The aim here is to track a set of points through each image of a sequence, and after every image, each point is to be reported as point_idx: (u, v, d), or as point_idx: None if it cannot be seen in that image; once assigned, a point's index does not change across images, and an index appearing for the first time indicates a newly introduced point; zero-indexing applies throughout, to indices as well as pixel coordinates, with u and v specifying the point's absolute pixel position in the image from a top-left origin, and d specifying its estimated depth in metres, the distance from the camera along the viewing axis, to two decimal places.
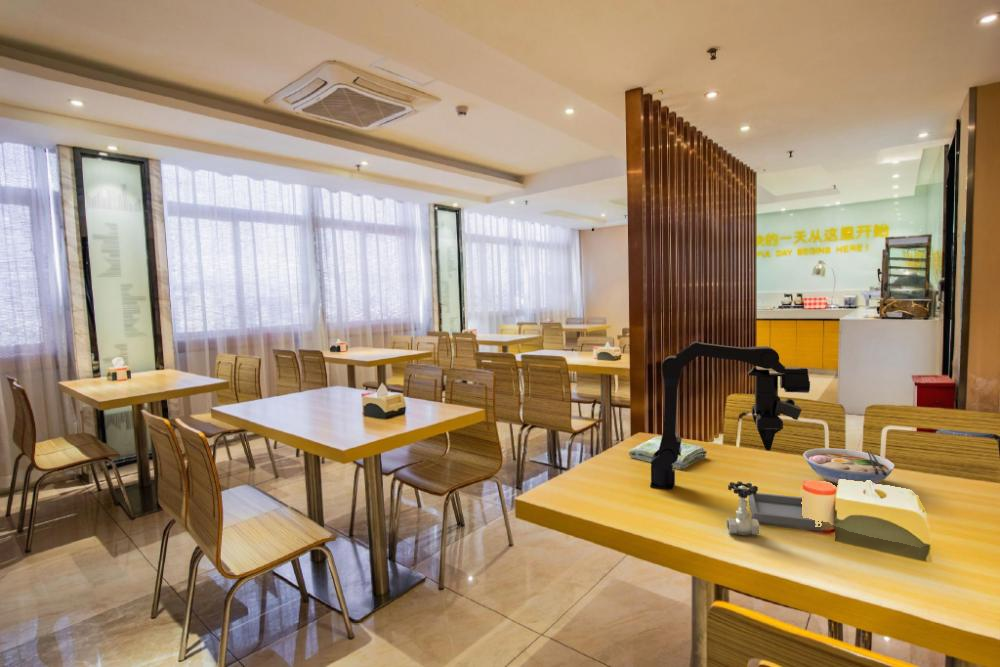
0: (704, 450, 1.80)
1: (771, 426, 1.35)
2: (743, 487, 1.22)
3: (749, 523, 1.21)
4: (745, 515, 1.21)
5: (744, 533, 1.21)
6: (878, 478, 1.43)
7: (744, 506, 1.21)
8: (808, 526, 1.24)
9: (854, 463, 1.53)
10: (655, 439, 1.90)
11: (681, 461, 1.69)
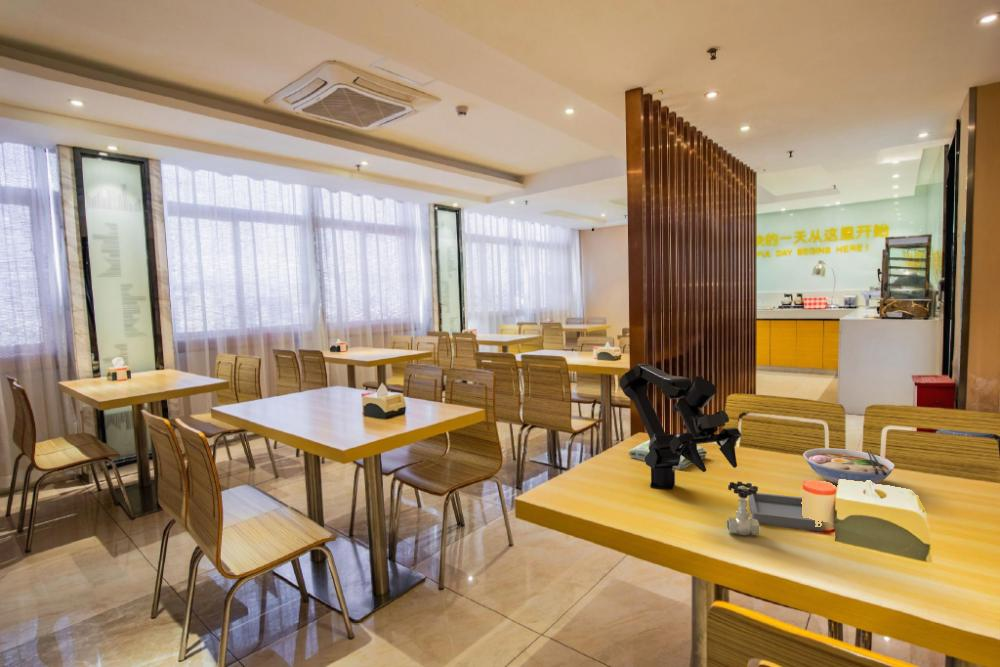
0: (703, 450, 1.80)
1: (675, 445, 1.32)
2: (743, 487, 1.22)
3: (749, 523, 1.21)
4: (745, 515, 1.21)
5: (744, 533, 1.21)
6: (878, 478, 1.43)
7: (744, 506, 1.21)
8: (808, 526, 1.24)
9: (854, 463, 1.53)
10: None
11: (681, 461, 1.69)
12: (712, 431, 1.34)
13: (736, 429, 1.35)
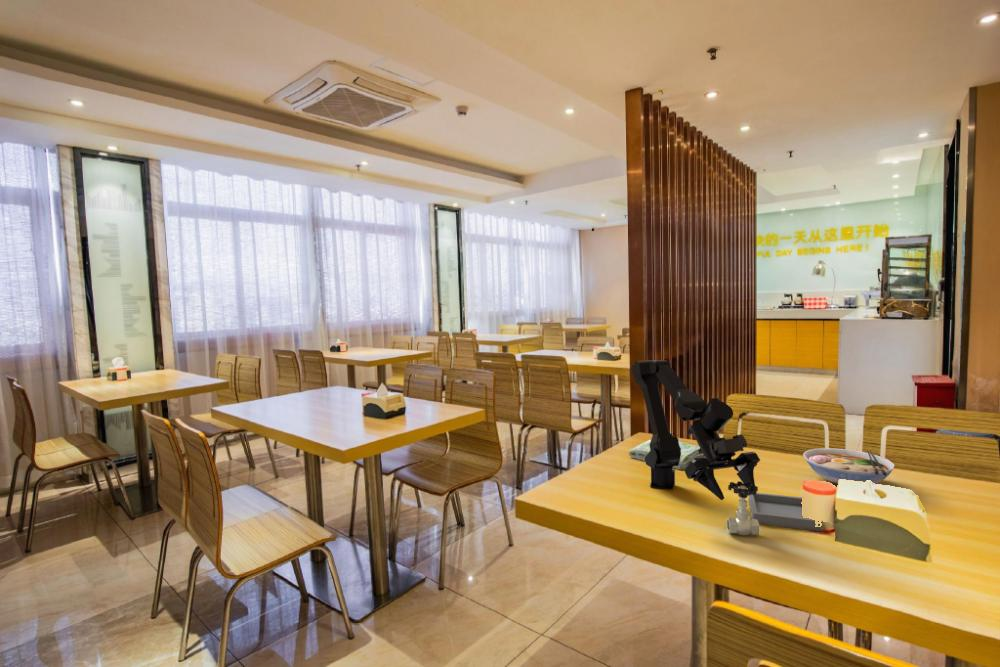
0: None
1: (691, 471, 1.26)
2: (743, 487, 1.22)
3: (749, 523, 1.21)
4: (745, 515, 1.21)
5: (744, 533, 1.21)
6: (878, 478, 1.43)
7: (744, 506, 1.21)
8: (808, 526, 1.24)
9: (854, 463, 1.53)
10: None
11: (681, 461, 1.69)
12: (729, 456, 1.28)
13: (754, 454, 1.29)
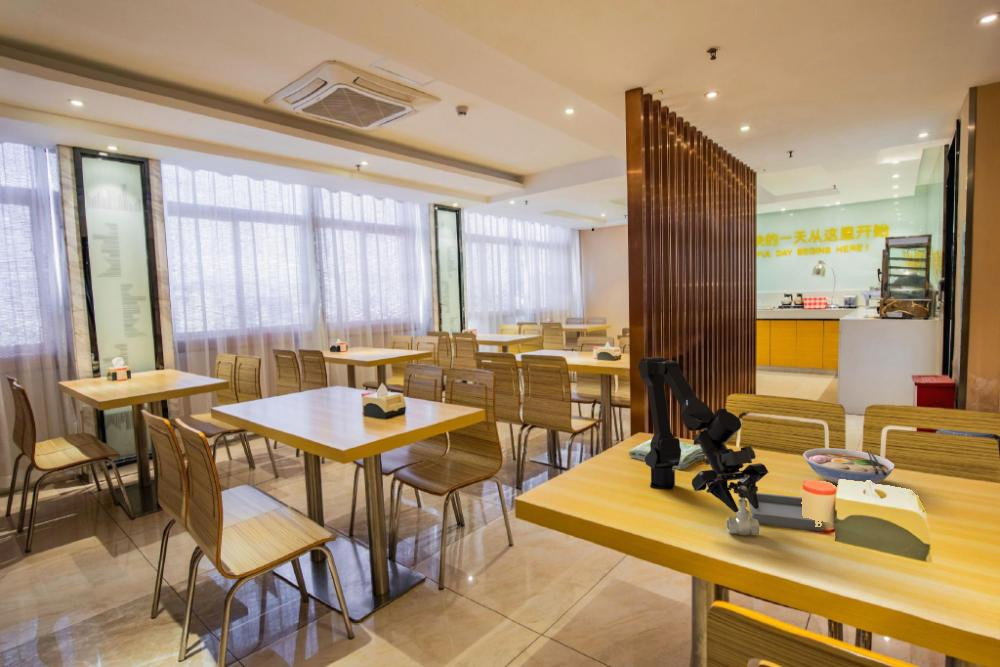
0: None
1: (698, 483, 1.23)
2: (743, 487, 1.22)
3: (749, 523, 1.21)
4: (745, 515, 1.21)
5: (744, 533, 1.21)
6: (878, 478, 1.43)
7: (744, 506, 1.21)
8: (808, 526, 1.24)
9: (854, 463, 1.53)
10: None
11: (681, 461, 1.69)
12: (737, 468, 1.26)
13: (763, 465, 1.27)
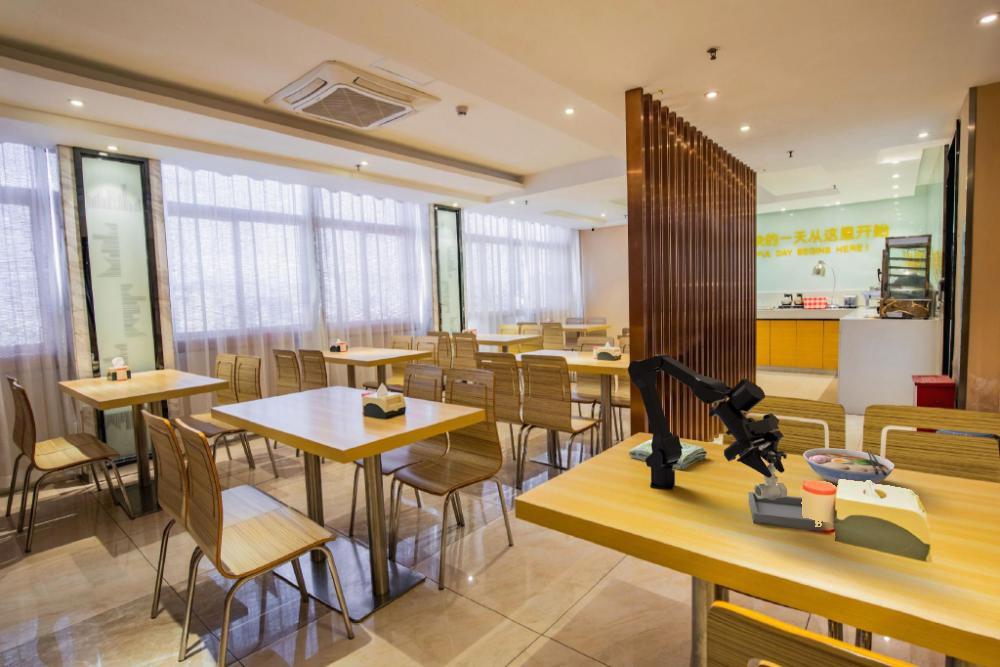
0: (704, 450, 1.80)
1: (734, 453, 1.25)
2: (772, 453, 1.26)
3: (778, 487, 1.26)
4: (775, 480, 1.25)
5: (775, 497, 1.25)
6: (878, 478, 1.43)
7: (773, 471, 1.26)
8: (808, 526, 1.24)
9: (854, 463, 1.53)
10: None
11: (681, 461, 1.69)
12: (760, 435, 1.30)
13: (778, 431, 1.33)
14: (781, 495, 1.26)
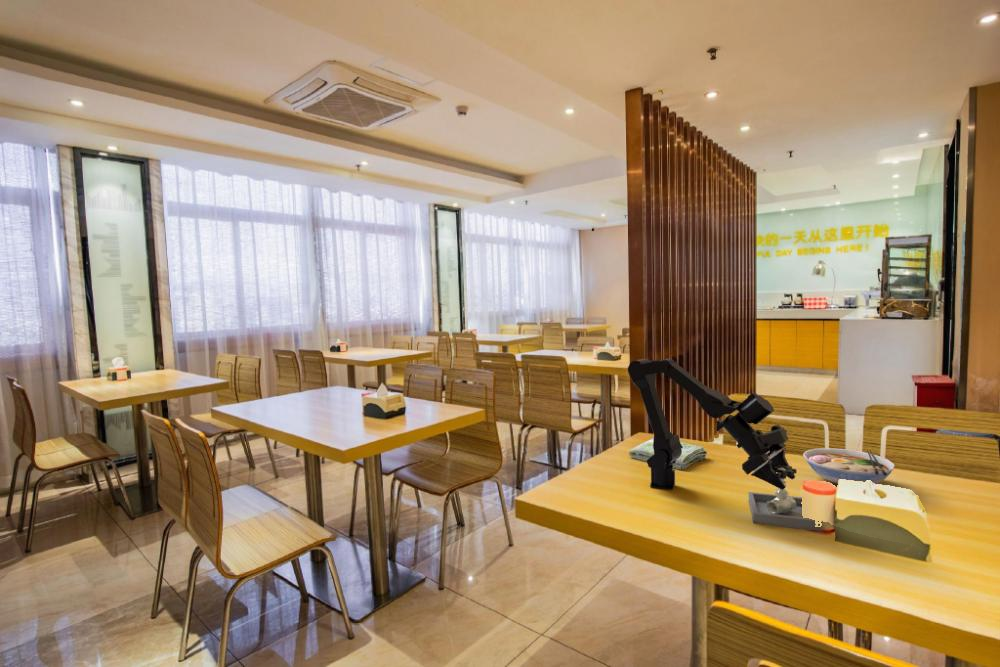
0: (704, 450, 1.80)
1: (755, 466, 1.28)
2: (783, 469, 1.31)
3: (789, 501, 1.32)
4: (787, 494, 1.31)
5: (787, 511, 1.31)
6: (878, 478, 1.43)
7: (785, 486, 1.31)
8: (808, 526, 1.24)
9: (854, 463, 1.53)
10: None
11: (681, 461, 1.69)
12: None
13: None
14: (792, 508, 1.32)
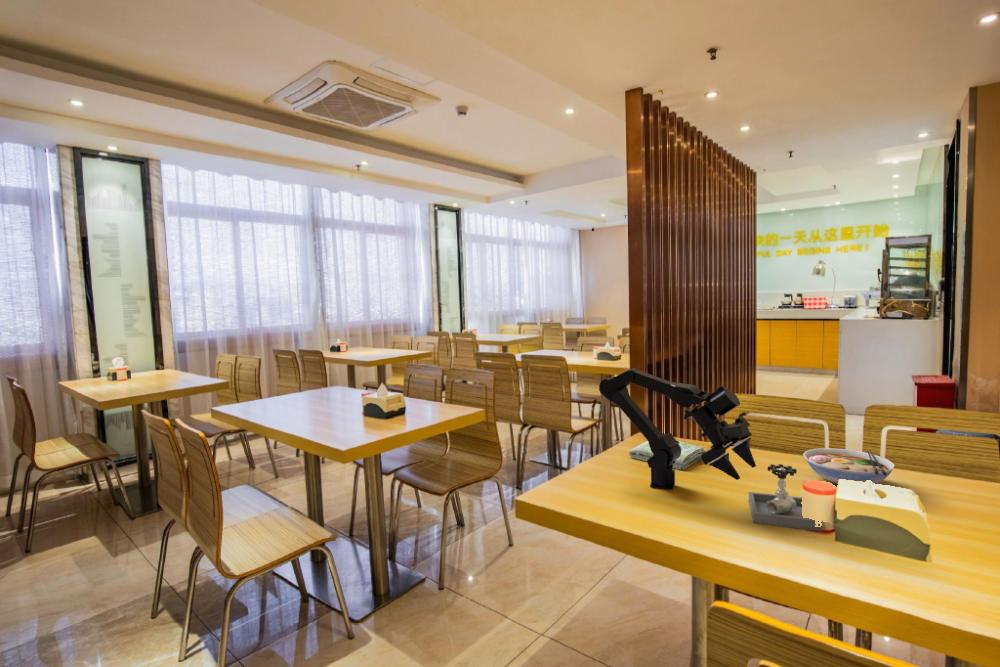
0: (704, 450, 1.80)
1: (711, 458, 1.36)
2: (783, 469, 1.31)
3: (789, 501, 1.32)
4: (787, 494, 1.31)
5: (787, 511, 1.31)
6: (878, 478, 1.43)
7: (785, 486, 1.31)
8: (808, 526, 1.24)
9: (854, 463, 1.53)
10: None
11: (682, 461, 1.69)
12: None
13: None
14: (792, 508, 1.32)
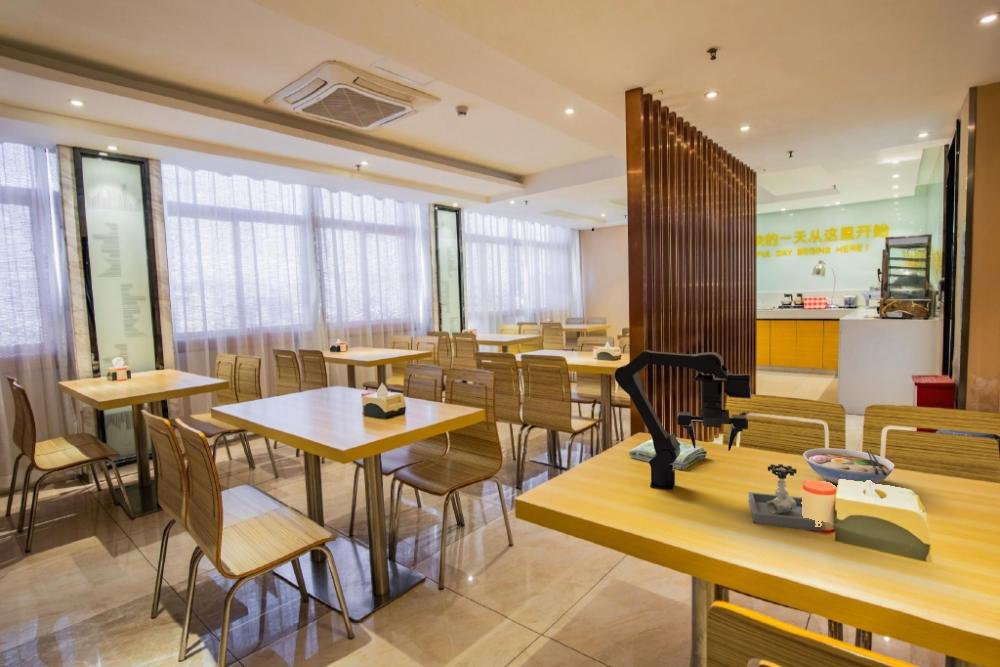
0: (704, 450, 1.80)
1: None
2: (783, 469, 1.31)
3: (789, 501, 1.32)
4: (787, 494, 1.31)
5: (787, 511, 1.31)
6: (878, 478, 1.43)
7: (785, 486, 1.31)
8: (808, 526, 1.24)
9: (854, 463, 1.53)
10: None
11: (682, 461, 1.69)
12: None
13: (744, 423, 1.41)
14: (792, 508, 1.32)
